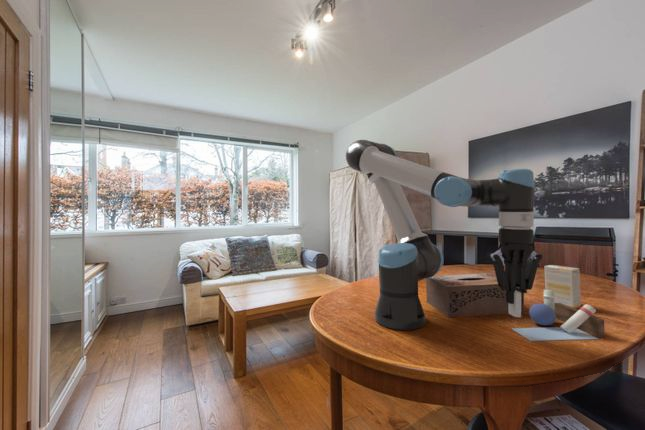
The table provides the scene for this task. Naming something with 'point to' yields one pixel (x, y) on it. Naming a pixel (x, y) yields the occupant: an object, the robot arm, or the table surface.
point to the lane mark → (552, 334)
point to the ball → (542, 314)
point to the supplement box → (564, 284)
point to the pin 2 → (578, 318)
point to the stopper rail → (590, 325)
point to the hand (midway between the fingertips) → (514, 315)
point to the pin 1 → (549, 298)
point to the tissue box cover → (467, 295)
